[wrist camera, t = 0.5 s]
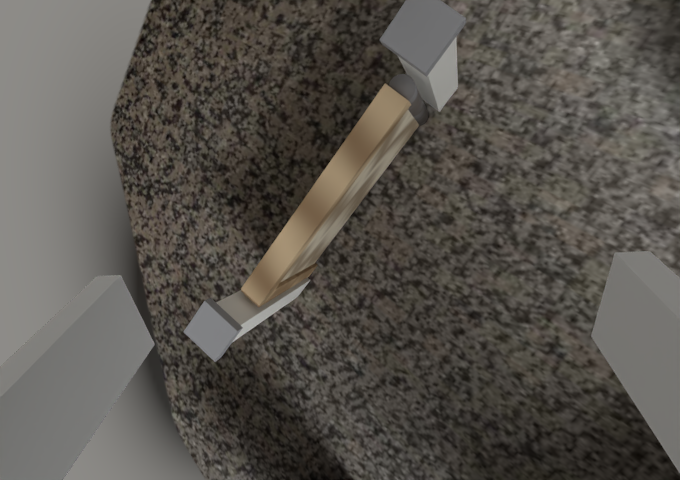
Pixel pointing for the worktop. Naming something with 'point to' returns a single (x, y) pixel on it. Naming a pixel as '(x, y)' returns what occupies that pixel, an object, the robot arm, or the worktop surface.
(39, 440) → the robot arm
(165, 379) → the worktop surface
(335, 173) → the gate
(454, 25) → the hinge post
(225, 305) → the post
